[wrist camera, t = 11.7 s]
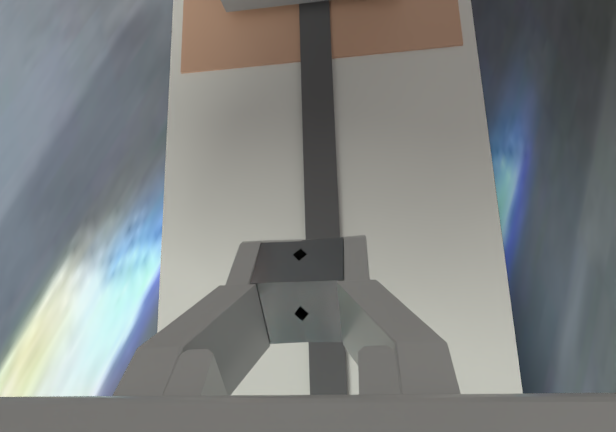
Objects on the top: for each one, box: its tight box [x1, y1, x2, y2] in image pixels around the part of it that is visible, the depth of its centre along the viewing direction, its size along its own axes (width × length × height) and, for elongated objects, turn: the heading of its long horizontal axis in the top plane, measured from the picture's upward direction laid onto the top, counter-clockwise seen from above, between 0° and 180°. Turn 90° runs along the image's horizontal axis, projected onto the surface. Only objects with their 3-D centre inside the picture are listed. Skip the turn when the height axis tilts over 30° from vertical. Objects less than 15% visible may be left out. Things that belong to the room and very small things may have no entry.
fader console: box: [157, 0, 523, 395], centre depth 17 cm, size 26×12×3 cm, turn 2°
